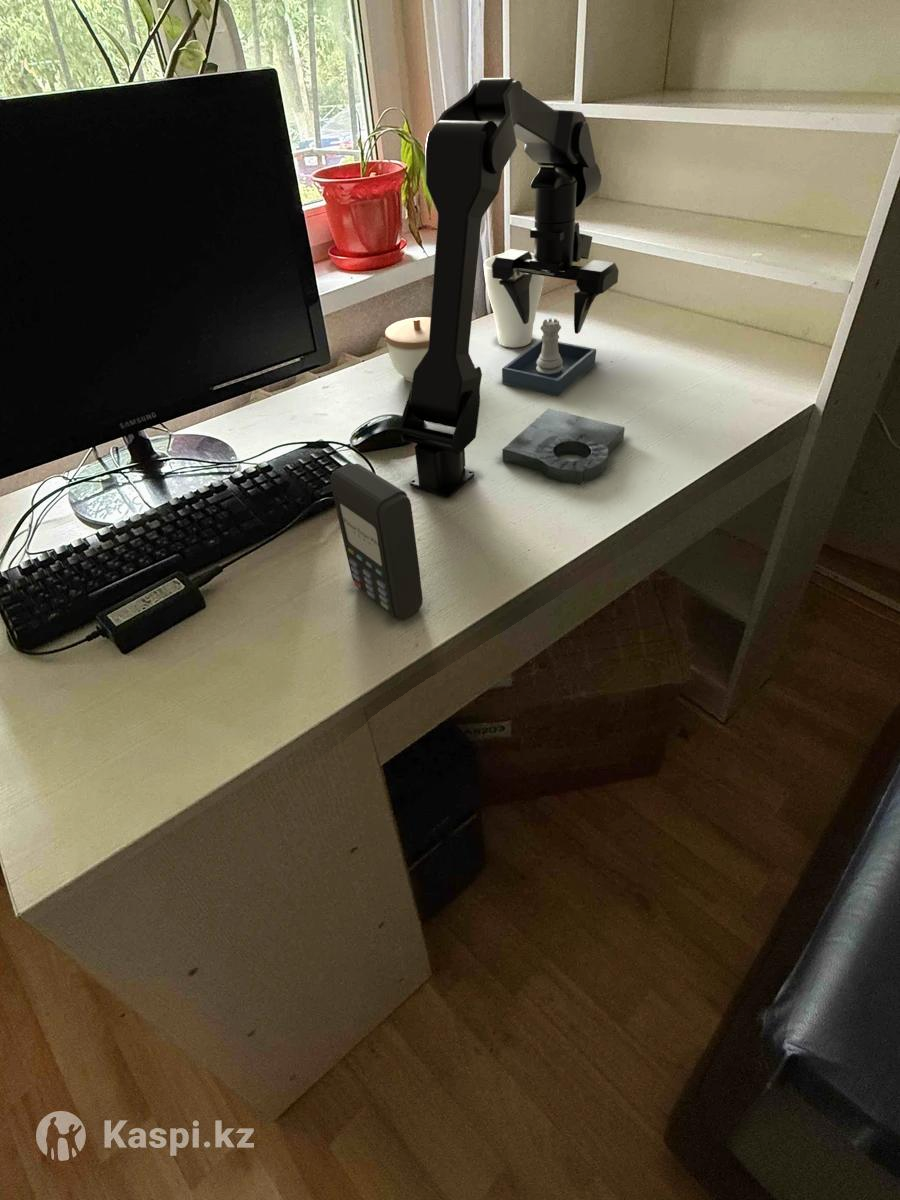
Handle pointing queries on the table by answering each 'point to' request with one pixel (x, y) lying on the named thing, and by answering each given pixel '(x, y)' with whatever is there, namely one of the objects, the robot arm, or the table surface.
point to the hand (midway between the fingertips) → (551, 327)
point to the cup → (511, 308)
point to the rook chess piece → (550, 349)
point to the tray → (528, 377)
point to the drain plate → (564, 446)
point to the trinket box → (408, 344)
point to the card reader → (378, 538)
